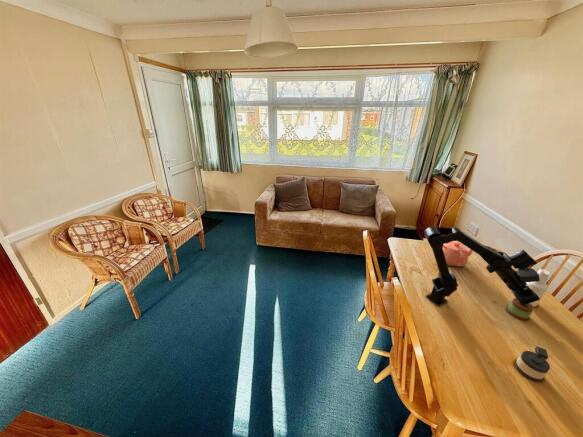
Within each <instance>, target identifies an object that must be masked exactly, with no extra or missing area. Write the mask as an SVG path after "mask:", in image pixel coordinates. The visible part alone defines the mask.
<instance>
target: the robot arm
mask: <svg viewBox="0 0 583 437" xmlns="http://www.w3.org/2000/svg"><path fill="white" fill-rule="evenodd" d="M423 235H424V236H425V237H424V238H426V240H427V243H428V245H429V246H430V248H431V250H432V253H433V256H434V260H435V263H436V266H437V269H438V274H437V277H435V278H433V279H431V283H432V284H433V287H432V290H431V293H430V294H428V295H426V298H427V299H428V300H430V301H431V302H432V303H434V304H435V305H436V306H442V305H444V304H445V303H447V302H448V300H447V299H446V297H448V298H449V297H451V295H452V294H453V293H454V292H456V291H457V290H458V287H459V283H458V278H457V277H456V275H455V274H454V271H453V270H450V269H449V266H447V262H446V259H445V255H444V252H443V245H444V244H446V243H449V242H452V241H456V242H460V243H461V244H463V245H464V246H465V247H466V248H467V249H469V248H470V249H471V250H473V252H474V253H476V254H477V255H479V256H480V258H481V259H483V261H485V263H487V266H486V267H485V269H486V270H487V271H488V273H489V274H493V273H495V274H496V275H497V276H498V278H499V279H500V280H501V281H502V282H503V284H505V286H506V287H507V289H509V290H510V291H511V293H512V294H513V296H514V297H515V298H517V300H518V301H519V302H520V303H521V304H522V305H526V304H529V303H532V302H535V301H538V300H540V298H539V297H538V295H537V294H536V293H535V292H534V291H533V290H532V289H530V288H529V287H528V286H526V285H527V283H526V282H535V281H536V282H538V281H540V279H539V274H538V271H536V269H534V268H532V267H533V266H535V265H537V264H538V262H537V261H536V260H535V259H534V258H533V257H532V256H531V255H530V254H528V252H527V251H525V249H521V250H519V251H517V252H516V253H514V254H513V253H512V254H510V255H508V254H507V253H506V252H503V251H499V250H497V249H496V248H494V247H492V246H489V245H485V244H482V243H480V242H479V241H477V240H476V239H475V238H473V236H470V235H468V234H467V233H466V232H464V231H462V230H461V229H460V227H447V226H446V227H445V226H436V227H435V226H429V227H426V228H425V230H424V231H423ZM516 269H517V270H516ZM540 301H541V300H540Z"/></svg>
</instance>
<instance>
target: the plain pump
mask: <svg viewBox="0 0 583 437" xmlns="http://www.w3.org/2000/svg"><path fill="white" fill-rule="evenodd" d="M534 351H535V352H534V353H536V356H537V357H538V358H541V359H542V362H543V363H546V361H547V360H548V358H549V354H548V351H547V349H545V348H543V347H541V346H538V345H536V346H535V347H534ZM545 360H546V361H545Z"/></svg>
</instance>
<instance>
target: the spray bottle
mask: <svg viewBox="0 0 583 437" xmlns="http://www.w3.org/2000/svg"><path fill="white" fill-rule="evenodd" d="M537 273H538V274H539V279H540V281H538V282H536V281H535V282H526V283H527V285H526V286H528V287H529V288H530V289H532V290H533V291H534V292H535V293H536V294H537V295H538V297H539V298H540V300H538V301H535V302H532V303H530V304H531V305H532V306H533V307H537V306H538V304H539V303H540V301H541V300H542V298H543V297H544V295H545V293H546V292H547V290H548V287H549V286H548V285H547V281H548V279H549V276H550V274H551V272H550V271H548V270H546V269H542V268H539V270H538V271H537Z"/></svg>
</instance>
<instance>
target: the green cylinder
mask: <svg viewBox="0 0 583 437" xmlns="http://www.w3.org/2000/svg"><path fill="white" fill-rule="evenodd" d="M534 309H535V308H534V307H533V306H532V305H531V304H530V303H529V304H526V305H522V304H521V303H520V302H519V301H518V300H517V298H516V297H515V298H512V300H511V302H510V303H509V305H508V307H507V312H508V314H509V315H511V316H513V317H514V318H516V319H518V320H523V321H526V320H528V319H529V317H530V316H531V315H532V313H533V311H534Z"/></svg>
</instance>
